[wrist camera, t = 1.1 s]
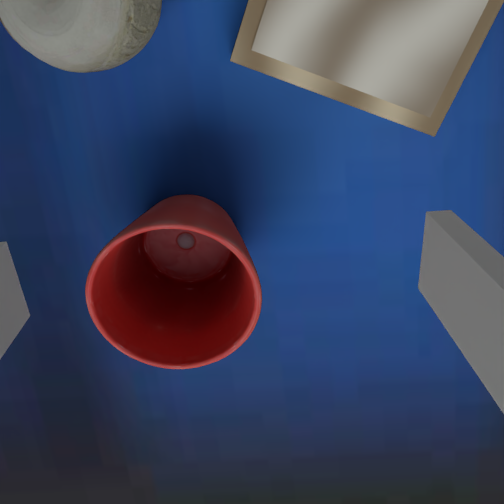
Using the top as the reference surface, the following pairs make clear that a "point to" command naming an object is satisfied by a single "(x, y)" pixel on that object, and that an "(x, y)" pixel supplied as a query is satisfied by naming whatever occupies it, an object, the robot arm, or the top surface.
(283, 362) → the top surface
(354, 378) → the top surface
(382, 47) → the plinth
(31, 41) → the decorative object
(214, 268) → the flower pot
